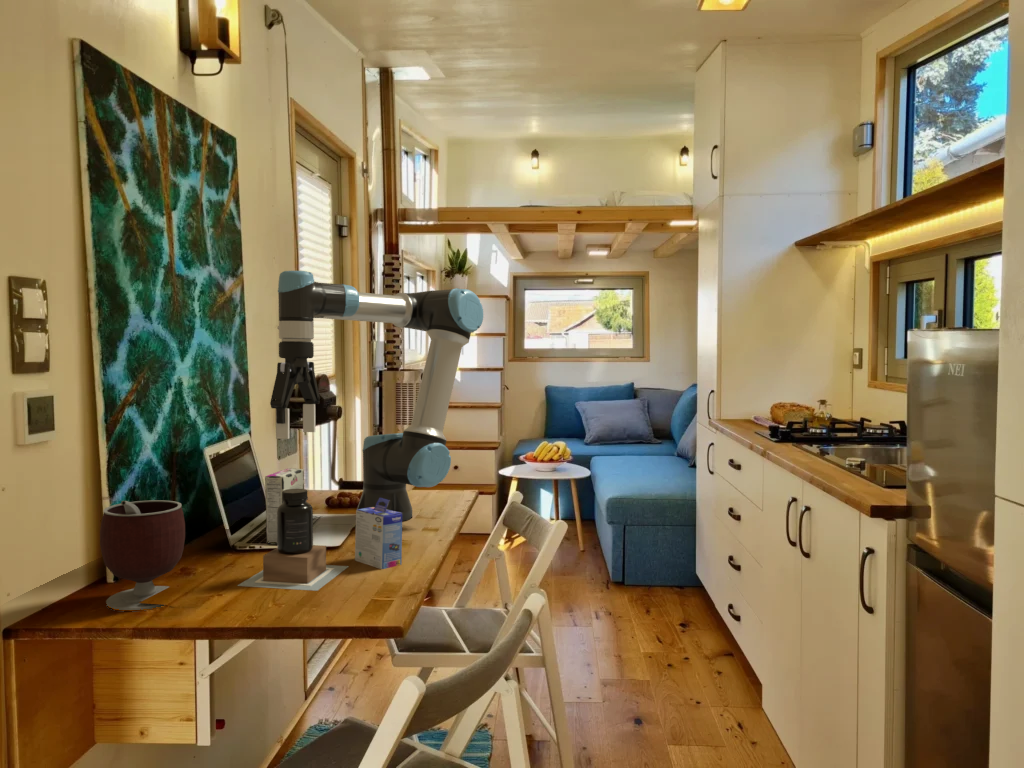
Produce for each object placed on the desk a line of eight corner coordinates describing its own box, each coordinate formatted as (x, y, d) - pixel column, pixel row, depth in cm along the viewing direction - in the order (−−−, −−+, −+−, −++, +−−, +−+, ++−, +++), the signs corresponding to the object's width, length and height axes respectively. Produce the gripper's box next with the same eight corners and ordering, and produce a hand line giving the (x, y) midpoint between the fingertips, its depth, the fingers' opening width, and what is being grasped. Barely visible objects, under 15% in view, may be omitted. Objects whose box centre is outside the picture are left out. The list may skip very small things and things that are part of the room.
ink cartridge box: (403, 569, 157) (403, 501, 157) (382, 575, 153) (382, 505, 152) (374, 560, 164) (375, 495, 163) (353, 565, 160) (353, 498, 159)
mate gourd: (120, 588, 143) (119, 484, 142) (196, 587, 144) (195, 484, 143) (82, 617, 128) (80, 501, 127) (166, 615, 129) (165, 500, 128)
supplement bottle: (275, 547, 150) (275, 488, 149) (310, 544, 153) (310, 486, 152) (279, 556, 144) (278, 494, 143) (315, 553, 146) (315, 492, 146)
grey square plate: (276, 567, 158) (276, 561, 157) (348, 571, 155) (348, 565, 155) (237, 591, 142) (237, 585, 142) (317, 596, 139) (317, 590, 139)
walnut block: (284, 567, 154) (284, 543, 153) (326, 570, 152) (326, 545, 152) (263, 581, 145) (263, 555, 144) (307, 583, 143) (307, 557, 143)
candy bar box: (286, 532, 188) (286, 467, 187) (305, 534, 187) (305, 468, 186) (264, 544, 177) (264, 475, 176) (284, 545, 176) (284, 476, 175)
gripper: (304, 341, 180) (304, 429, 181) (253, 339, 156) (253, 441, 157) (333, 341, 179) (333, 429, 180) (286, 339, 155) (287, 442, 155)
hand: (296, 435), depth 168 cm, fingers open, 13 cm apart
